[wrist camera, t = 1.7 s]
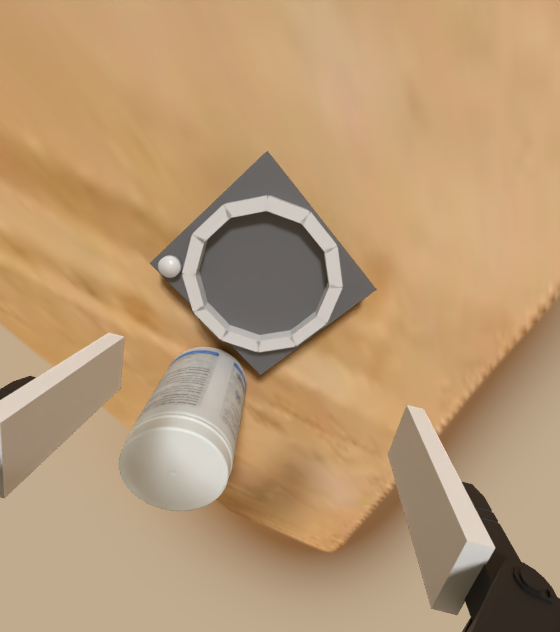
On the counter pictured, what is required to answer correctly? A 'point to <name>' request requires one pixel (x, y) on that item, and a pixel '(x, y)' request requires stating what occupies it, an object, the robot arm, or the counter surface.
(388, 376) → the counter surface
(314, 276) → the grey square ring block
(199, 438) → the supplement tub
